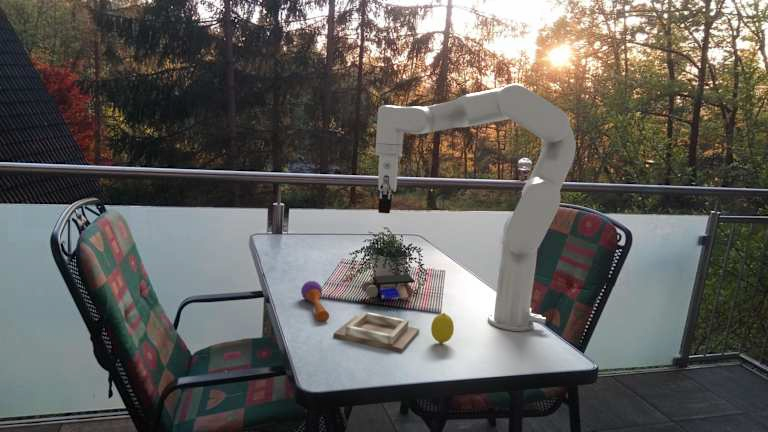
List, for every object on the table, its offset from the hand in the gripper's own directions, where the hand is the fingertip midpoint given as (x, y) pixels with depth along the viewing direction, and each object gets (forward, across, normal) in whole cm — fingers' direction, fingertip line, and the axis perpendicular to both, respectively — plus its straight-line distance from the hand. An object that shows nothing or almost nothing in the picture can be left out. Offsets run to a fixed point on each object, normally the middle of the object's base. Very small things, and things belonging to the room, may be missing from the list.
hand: (384, 210), depth 158 cm
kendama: (+29, -8, +17) cm, 34 cm away
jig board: (+28, -23, -1) cm, 37 cm away
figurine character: (+29, +5, -2) cm, 29 cm away
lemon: (+29, -25, -17) cm, 42 cm away
